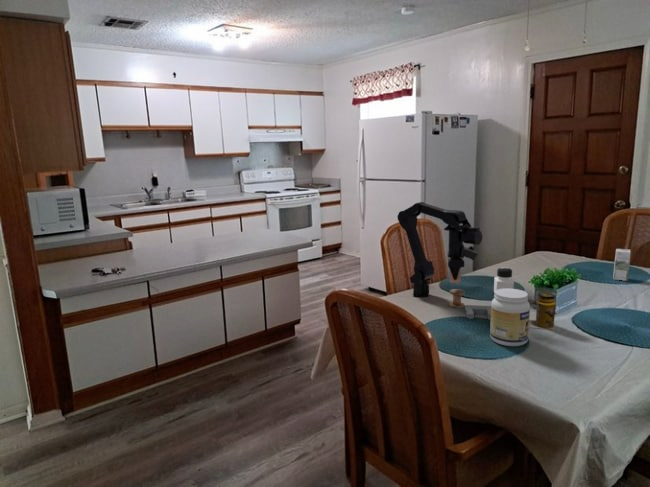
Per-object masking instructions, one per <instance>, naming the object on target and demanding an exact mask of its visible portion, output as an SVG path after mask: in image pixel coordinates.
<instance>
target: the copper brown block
mask: <svg viewBox="0 0 650 487" xmlns="http://www.w3.org/2000/svg"><path fill="white" fill-rule="evenodd" d="M461 268H462V267H461ZM461 268H460V269H459V273H458V277H457V280H454V278H453V276H452V273H451V271H450V270H449V273H450V274H449V278H450V280H449V282H450V283H451V284H452V283H453V284H455V283H456V284H460V283H461V273H462V272H461Z"/></svg>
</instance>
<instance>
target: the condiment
mask: <svg viewBox="0 0 650 487" xmlns="http://www.w3.org/2000/svg"><path fill="white" fill-rule="evenodd" d="M555 298H556V296H555V294H553V293H552V292H540V293H539V294H538V299H537V301H536V311H535V312H536V313H535V320H533V319H529V327H530V329H531V328H532V329H542V330H554V331H556V330H557V327H556V325H555V315H556V301H555Z"/></svg>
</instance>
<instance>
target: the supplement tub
mask: <svg viewBox="0 0 650 487" xmlns="http://www.w3.org/2000/svg"><path fill="white" fill-rule="evenodd" d="M528 295H529V294H528V293H527V292H526V291H525V290H521V289H518V288H514V289H510V288H504V289H498V290H496V291H495V293H494V295H493V298H492V300H491V305H490V306H491V320H490V329H489V330H490V331H489V336H490V339H491V340H492V341H493V342H495V343H497V344H498V345H501V346H507V347H520V346H523V345H525V344H527V343H528V340H529V330H530V328H529V327H530V324H529V320H530V312H531V311H530V310H531V303H530V302H529V301H528V300H529V296H528Z"/></svg>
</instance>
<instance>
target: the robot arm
mask: <svg viewBox="0 0 650 487" xmlns="http://www.w3.org/2000/svg"><path fill="white" fill-rule="evenodd" d="M421 214H424V215H427V216H430V217H433V218H436V219H439V220H441V221H442V222H443V223H445V225H447V226H446V227H444V228H443V230H444V231H447V232H448V251H447V258H448V259H447V267H448V269H449V272H450V271H451V273H452V276H453V278H454V280H457V277H458V273H459V269H460V268H464V267H465V259H464V258H467V259H470V260H471V261H475V260H476V258H477V256H478V255H479V254H478V251H477V250H475V248H474V246H473V245H475V246H479V245H480V244H481V243H482V241H483V234H482V231H481V230H480V227H472V225H471V224H470V222H469V220H468V218H467V216H466V214H465V212H464V211H463V210H457V209H456V210H455V209H453V210H452V209H445V208H442V207H439V206H435V205H432V204H428V203H425V202H424V201H418V202H415V203H414V204H413V205H411V206H409V207H408V208H406V209H404V210H401V211H399V212H398V214H397V222H398V223H399V225H400V227H401V228H402V229H403V230H404V231H405V233H406V237H407V240H408V243H409V246H410V250H411V253H412V256H413V259H414V266H413V274H412V275H411V276H410V277H409V280H410V283H411V284H413V286H412V287H413V288H412V290H413V291H412V297H418V298H420V297H422V298H425V297H426V298H427V297H429V294H430V283H429V281H431V279H432V277H433V276H434V275H435V268H434V265H433V262H432V260H428V259H427V258H426V255H425V251H424V249H423V246H422V243H421V239H420V238H421V237H420V235H419V232H418V229H417V226H418V217H420V216H421ZM464 244H468V245H469V246H468V247H465V245H464Z"/></svg>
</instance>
